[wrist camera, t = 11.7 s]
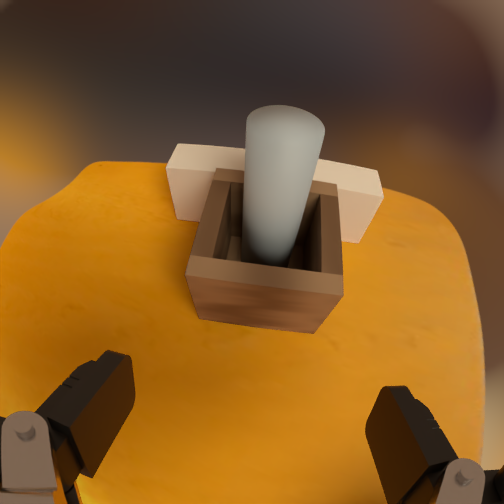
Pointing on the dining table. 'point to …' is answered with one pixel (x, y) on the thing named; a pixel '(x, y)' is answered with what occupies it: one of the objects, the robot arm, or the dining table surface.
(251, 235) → the gray cylinder
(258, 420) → the dining table surface
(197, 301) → the open wooden box
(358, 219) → the rail
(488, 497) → the robot arm
